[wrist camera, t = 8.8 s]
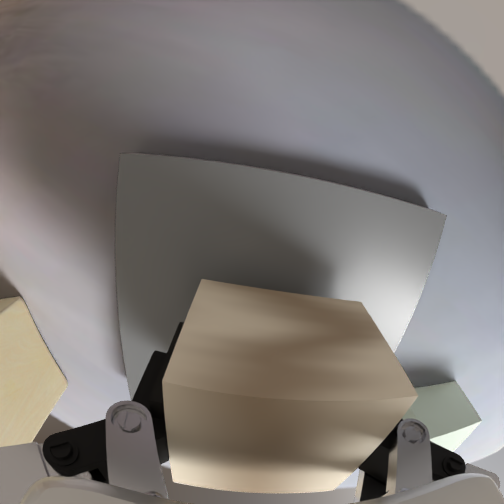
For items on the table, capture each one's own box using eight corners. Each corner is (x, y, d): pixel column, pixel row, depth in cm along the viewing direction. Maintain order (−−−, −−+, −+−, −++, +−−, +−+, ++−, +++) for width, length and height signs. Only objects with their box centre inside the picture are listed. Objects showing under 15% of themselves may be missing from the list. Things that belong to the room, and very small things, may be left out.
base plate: (429, 208, 11) (446, 215, 10) (345, 410, 16) (350, 425, 15) (135, 153, 11) (120, 153, 9) (138, 386, 15) (131, 401, 14)
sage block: (455, 380, 16) (481, 420, 11) (422, 425, 18) (440, 464, 13) (401, 388, 16) (426, 439, 11) (369, 434, 18) (384, 481, 13)
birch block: (361, 301, 10) (418, 396, 5) (316, 404, 12) (333, 490, 7) (201, 278, 10) (161, 380, 5) (192, 391, 12) (173, 481, 7)
